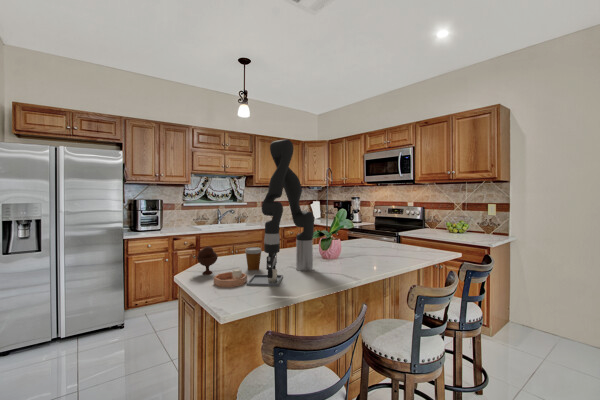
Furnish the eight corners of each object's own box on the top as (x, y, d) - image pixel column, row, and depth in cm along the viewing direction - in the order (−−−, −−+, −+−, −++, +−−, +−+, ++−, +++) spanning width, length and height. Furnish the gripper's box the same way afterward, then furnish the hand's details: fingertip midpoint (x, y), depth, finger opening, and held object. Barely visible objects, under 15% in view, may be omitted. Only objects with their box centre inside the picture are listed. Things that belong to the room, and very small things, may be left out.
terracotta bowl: (221, 278, 152) (221, 271, 152) (249, 279, 151) (249, 272, 151) (210, 287, 137) (210, 280, 137) (241, 288, 136) (241, 280, 136)
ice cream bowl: (221, 271, 165) (221, 244, 165) (210, 276, 155) (210, 248, 154) (204, 270, 168) (204, 243, 168) (192, 275, 158) (192, 247, 157)
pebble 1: (234, 280, 146) (234, 269, 146) (242, 280, 146) (242, 269, 146) (231, 283, 142) (231, 271, 142) (240, 283, 141) (240, 271, 141)
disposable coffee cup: (259, 272, 164) (259, 250, 164) (242, 271, 166) (242, 250, 165) (263, 267, 174) (263, 247, 173) (248, 267, 175) (248, 246, 175)
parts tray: (254, 277, 154) (254, 274, 154) (282, 278, 153) (282, 275, 153) (246, 286, 139) (246, 283, 139) (278, 287, 138) (278, 284, 138)
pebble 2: (268, 279, 148) (268, 268, 148) (277, 279, 147) (277, 268, 147) (267, 282, 143) (267, 271, 143) (276, 282, 143) (276, 271, 143)
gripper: (267, 240, 152) (267, 271, 152) (261, 244, 138) (260, 279, 138) (281, 240, 152) (281, 272, 152) (277, 244, 137) (276, 279, 138)
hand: (271, 275), depth 145 cm, fingers open, 8 cm apart
